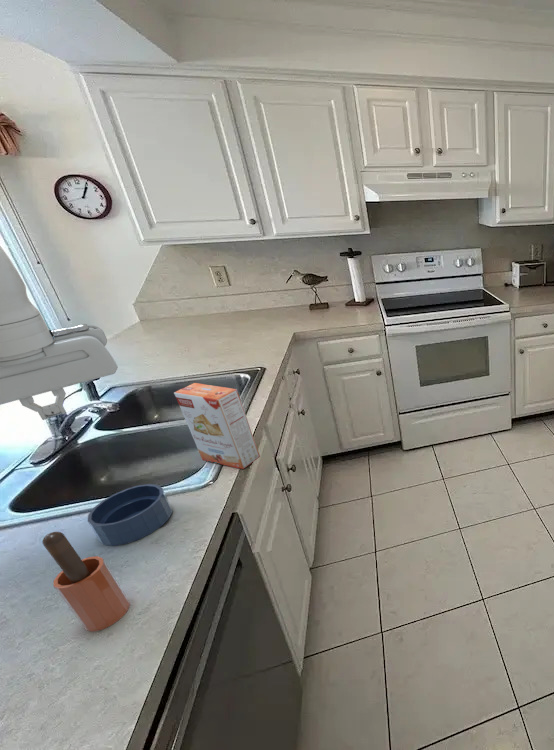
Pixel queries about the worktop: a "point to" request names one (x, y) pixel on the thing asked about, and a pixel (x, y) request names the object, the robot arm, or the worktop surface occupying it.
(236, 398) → the cracker box
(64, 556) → the stick
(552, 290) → the worktop surface
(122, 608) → the crock
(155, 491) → the bowl
